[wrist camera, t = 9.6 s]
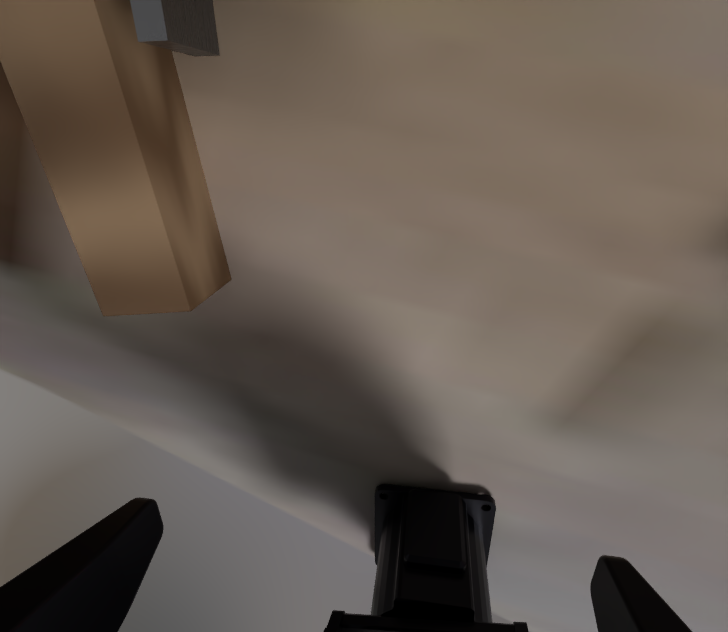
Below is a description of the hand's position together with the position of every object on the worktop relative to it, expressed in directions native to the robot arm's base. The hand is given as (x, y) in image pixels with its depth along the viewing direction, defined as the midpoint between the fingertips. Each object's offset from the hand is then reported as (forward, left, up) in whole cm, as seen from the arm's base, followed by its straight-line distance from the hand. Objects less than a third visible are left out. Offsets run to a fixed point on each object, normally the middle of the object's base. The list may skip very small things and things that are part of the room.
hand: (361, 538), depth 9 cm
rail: (+8, +11, -12) cm, 18 cm away
